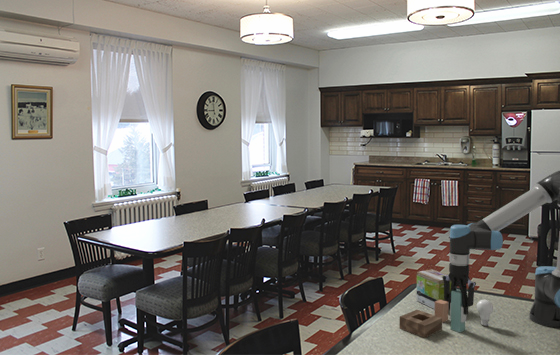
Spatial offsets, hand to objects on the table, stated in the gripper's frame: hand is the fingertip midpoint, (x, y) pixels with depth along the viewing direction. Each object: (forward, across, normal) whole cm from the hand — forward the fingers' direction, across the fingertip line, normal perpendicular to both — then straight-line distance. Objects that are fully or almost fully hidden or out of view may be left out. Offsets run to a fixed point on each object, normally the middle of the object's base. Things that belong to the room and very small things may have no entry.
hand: (457, 319), depth 187 cm
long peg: (+4, 0, 0) cm, 4 cm away
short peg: (+4, -10, +4) cm, 12 cm away
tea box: (+4, -22, +18) cm, 29 cm away
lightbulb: (+4, +5, +12) cm, 14 cm away
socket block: (+4, -10, -11) cm, 15 cm away
